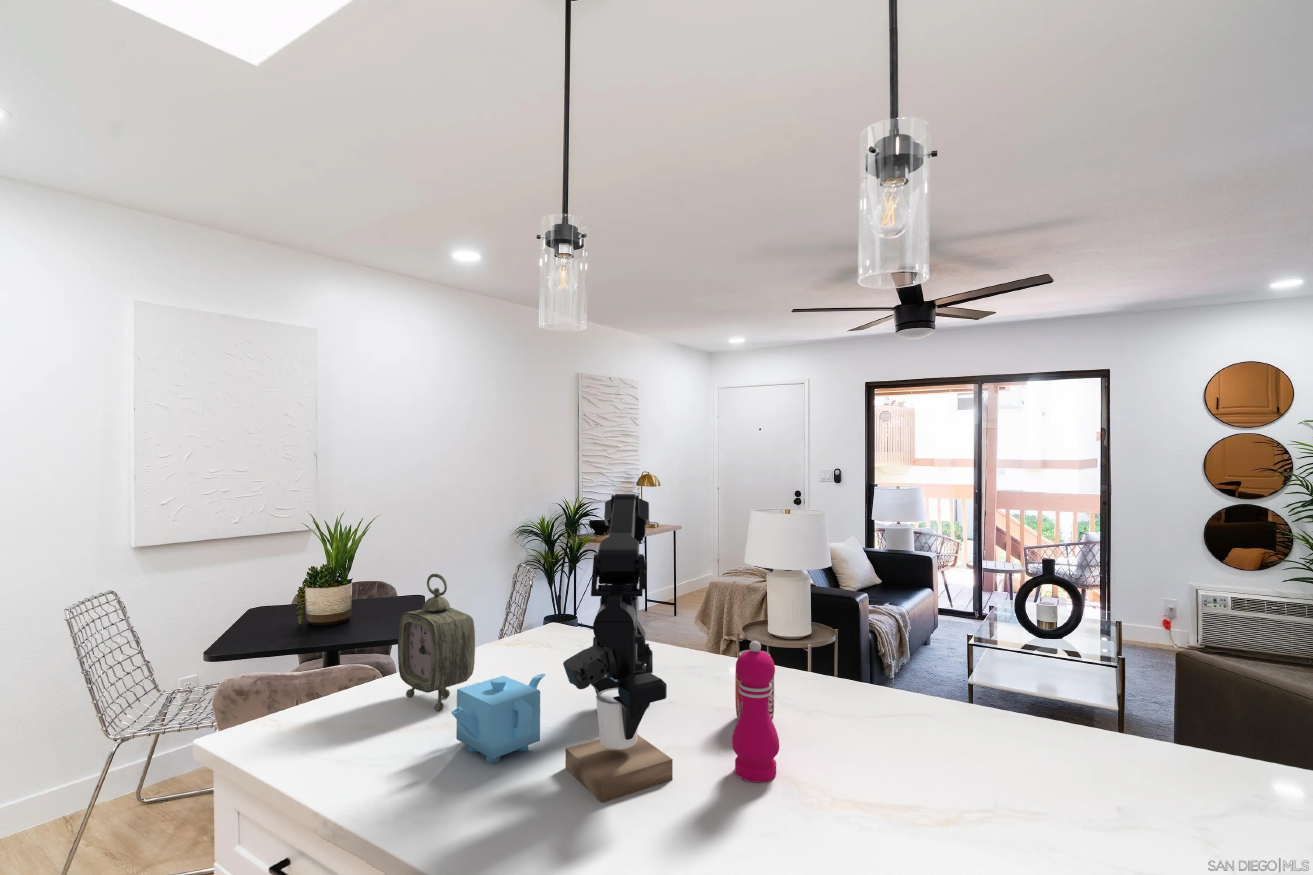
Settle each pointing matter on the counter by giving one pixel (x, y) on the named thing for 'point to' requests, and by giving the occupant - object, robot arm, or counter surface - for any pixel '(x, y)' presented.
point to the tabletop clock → (435, 646)
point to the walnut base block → (618, 768)
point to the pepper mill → (755, 718)
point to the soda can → (739, 696)
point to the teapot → (498, 716)
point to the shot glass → (612, 721)
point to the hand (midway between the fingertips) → (618, 730)
